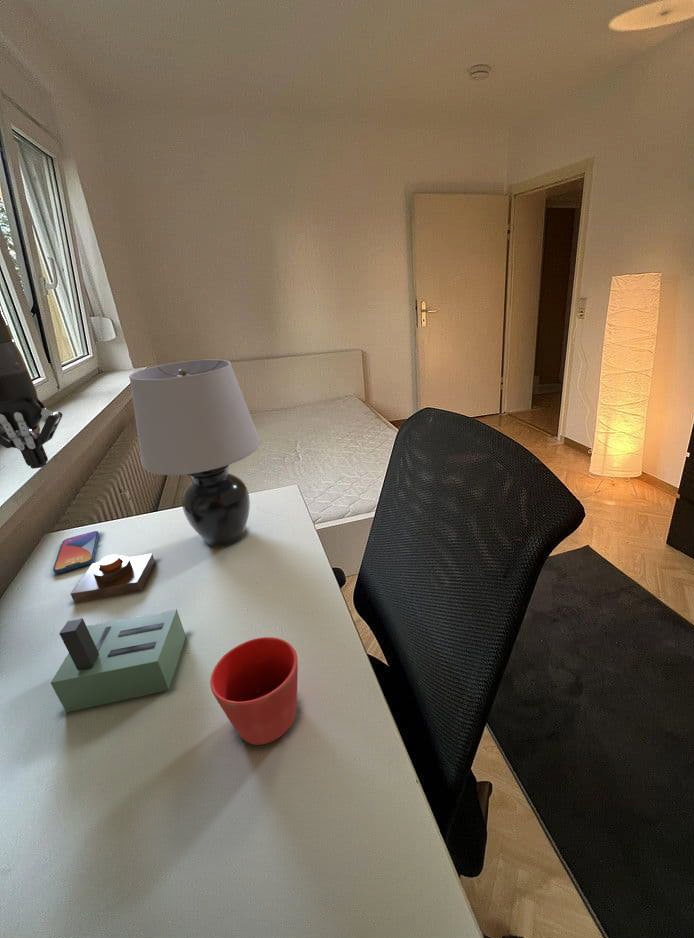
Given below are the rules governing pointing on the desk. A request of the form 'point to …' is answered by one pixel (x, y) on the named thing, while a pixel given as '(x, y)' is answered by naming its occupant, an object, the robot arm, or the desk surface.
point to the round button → (109, 563)
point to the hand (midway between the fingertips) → (39, 466)
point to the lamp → (197, 440)
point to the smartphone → (76, 552)
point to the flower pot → (258, 688)
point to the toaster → (124, 661)
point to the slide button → (79, 644)
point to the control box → (114, 578)
